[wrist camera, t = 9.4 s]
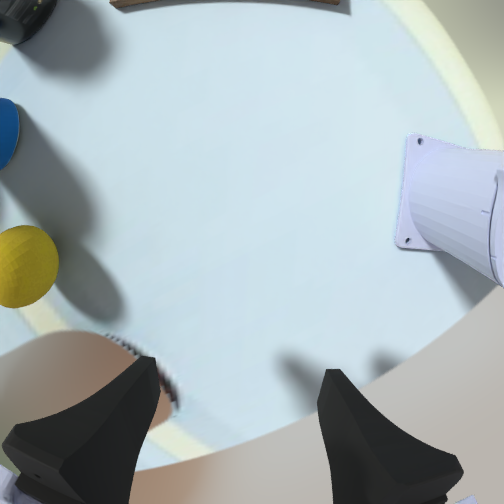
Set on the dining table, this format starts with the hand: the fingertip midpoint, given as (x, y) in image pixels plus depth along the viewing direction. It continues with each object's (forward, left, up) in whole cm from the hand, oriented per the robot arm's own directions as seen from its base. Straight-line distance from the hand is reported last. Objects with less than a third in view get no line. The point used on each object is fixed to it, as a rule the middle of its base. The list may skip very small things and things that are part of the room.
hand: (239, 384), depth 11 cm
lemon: (+16, -2, -10) cm, 19 cm away
